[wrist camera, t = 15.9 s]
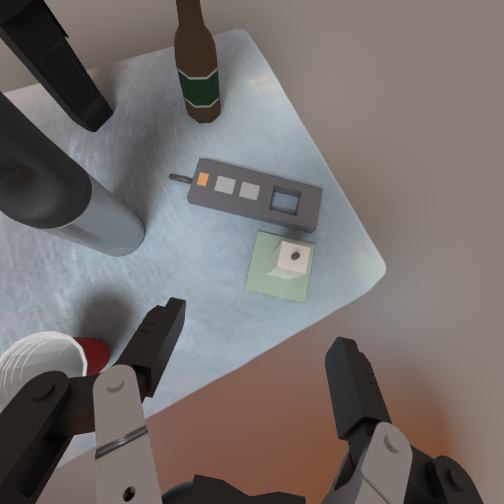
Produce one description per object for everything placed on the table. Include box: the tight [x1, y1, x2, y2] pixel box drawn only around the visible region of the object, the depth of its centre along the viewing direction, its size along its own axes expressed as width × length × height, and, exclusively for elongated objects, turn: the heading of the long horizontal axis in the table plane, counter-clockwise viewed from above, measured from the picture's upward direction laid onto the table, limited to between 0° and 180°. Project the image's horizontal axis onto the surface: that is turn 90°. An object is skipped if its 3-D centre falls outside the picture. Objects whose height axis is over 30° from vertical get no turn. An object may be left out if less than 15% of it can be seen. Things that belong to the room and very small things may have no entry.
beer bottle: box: [174, 0, 220, 123], centre depth 40 cm, size 8×8×24 cm
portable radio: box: [0, 0, 113, 132], centre depth 38 cm, size 8×6×25 cm
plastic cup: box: [0, 331, 109, 413], centre depth 34 cm, size 11×11×12 cm
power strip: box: [169, 158, 322, 233], centre depth 47 cm, size 32×9×3 cm, turn 77°
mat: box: [244, 231, 315, 303], centre depth 46 cm, size 12×12×1 cm
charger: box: [268, 241, 310, 279], centre depth 40 cm, size 5×4×12 cm
